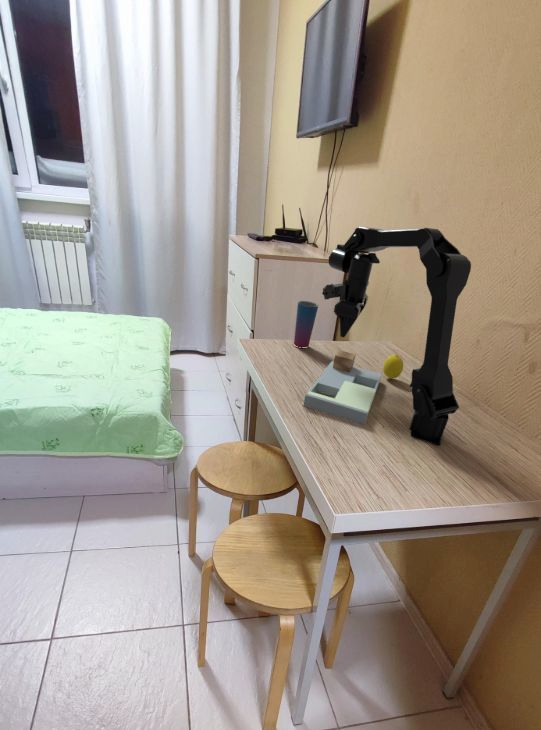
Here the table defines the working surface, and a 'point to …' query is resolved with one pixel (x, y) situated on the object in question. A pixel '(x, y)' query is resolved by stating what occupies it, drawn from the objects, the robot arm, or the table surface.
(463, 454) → the table surface
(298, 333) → the cup
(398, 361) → the lemon
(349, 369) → the block
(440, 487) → the table surface
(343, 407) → the board
